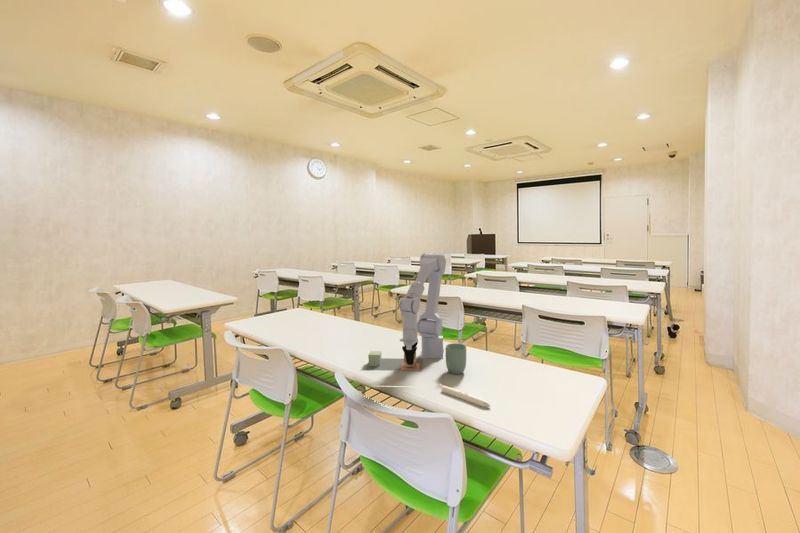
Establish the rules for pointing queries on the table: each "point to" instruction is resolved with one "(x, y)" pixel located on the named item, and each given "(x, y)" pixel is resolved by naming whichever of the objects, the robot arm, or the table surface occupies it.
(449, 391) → the marker
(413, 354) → the robot arm
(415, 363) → the maple block
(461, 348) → the cup
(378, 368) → the mat
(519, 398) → the table surface
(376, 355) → the sage block
